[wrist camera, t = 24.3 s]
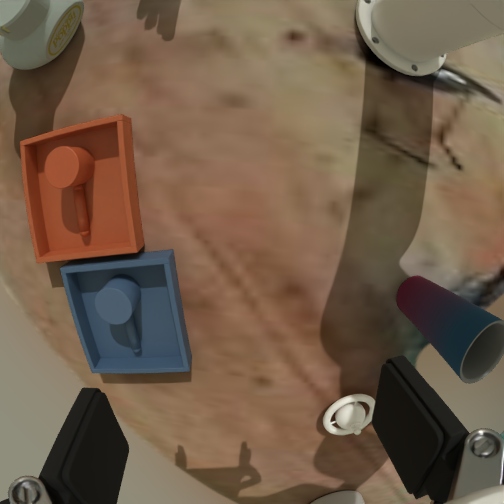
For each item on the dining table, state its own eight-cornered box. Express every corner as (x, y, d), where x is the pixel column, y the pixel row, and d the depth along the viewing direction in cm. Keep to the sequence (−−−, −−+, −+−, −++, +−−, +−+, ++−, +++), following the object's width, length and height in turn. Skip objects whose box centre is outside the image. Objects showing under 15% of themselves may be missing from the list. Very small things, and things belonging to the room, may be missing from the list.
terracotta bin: (34, 141, 28) (19, 141, 25) (131, 118, 28) (122, 114, 26) (49, 255, 31) (36, 263, 28) (144, 244, 32) (137, 252, 29)
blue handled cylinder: (103, 275, 32) (90, 289, 28) (137, 272, 32) (127, 286, 28) (122, 349, 35) (113, 368, 31) (154, 348, 35) (147, 368, 31)
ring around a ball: (362, 424, 42) (379, 385, 40) (373, 449, 37) (394, 410, 35) (314, 426, 41) (328, 387, 39) (322, 454, 36) (339, 414, 34)
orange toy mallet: (61, 151, 28) (42, 151, 24) (93, 144, 28) (77, 142, 24) (72, 237, 31) (55, 246, 27) (103, 233, 31) (89, 242, 27)
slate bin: (71, 260, 32) (59, 268, 29) (173, 249, 32) (168, 257, 30) (99, 359, 35) (91, 373, 32) (191, 356, 36) (189, 371, 33)
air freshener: (52, -8, 22) (15, -41, 13) (100, -1, 24) (67, -41, 14) (9, 67, 24) (-41, 50, 15) (53, 81, 26) (3, 60, 16)
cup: (381, 313, 37) (448, 383, 22) (403, 262, 35) (484, 315, 21) (420, 321, 38) (486, 383, 23) (440, 275, 36) (518, 324, 22)
